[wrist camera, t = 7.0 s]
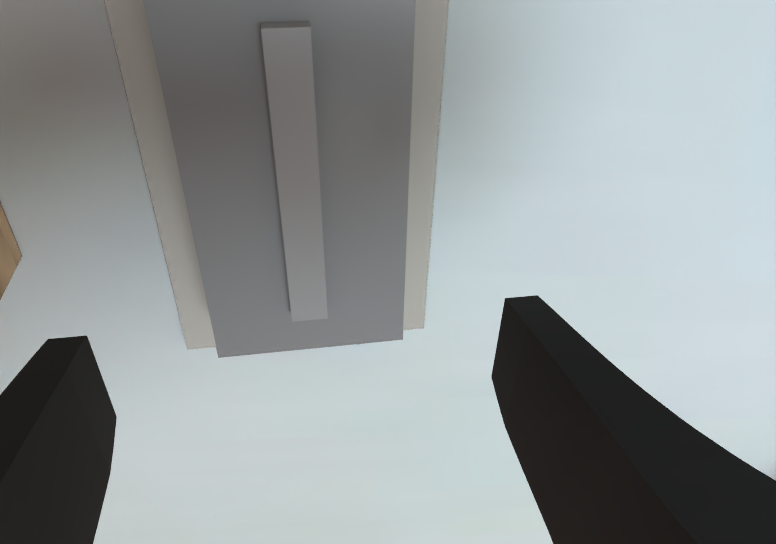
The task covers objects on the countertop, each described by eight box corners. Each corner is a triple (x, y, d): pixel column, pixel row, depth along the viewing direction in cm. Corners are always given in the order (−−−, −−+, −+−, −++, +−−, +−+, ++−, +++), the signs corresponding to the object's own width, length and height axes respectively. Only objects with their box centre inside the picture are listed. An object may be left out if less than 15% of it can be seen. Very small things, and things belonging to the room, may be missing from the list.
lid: (391, 295, 21) (404, 348, 19) (222, 310, 20) (217, 367, 18) (400, -79, 14) (421, -56, 12) (146, -76, 14) (127, -51, 12)
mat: (422, 322, 22) (423, 328, 22) (188, 343, 21) (187, 349, 21) (457, -154, 14) (460, -154, 14) (69, -159, 13) (66, -158, 13)
